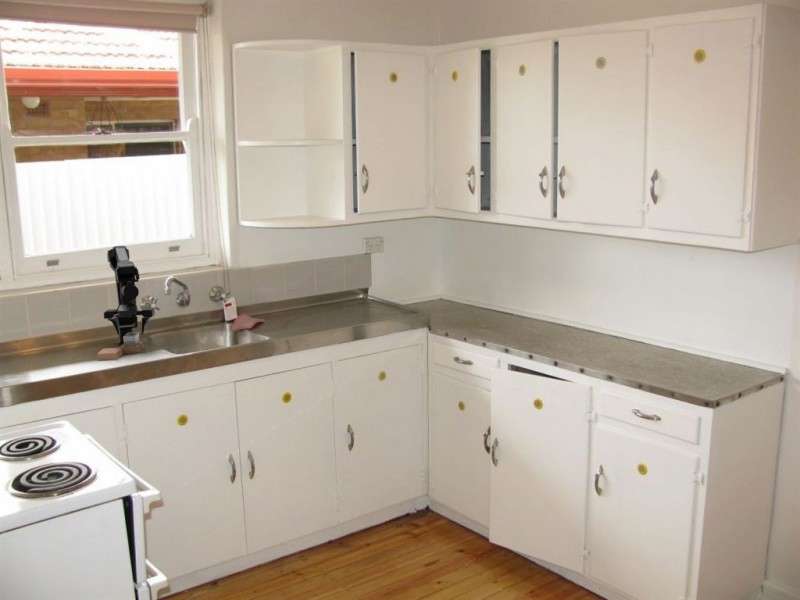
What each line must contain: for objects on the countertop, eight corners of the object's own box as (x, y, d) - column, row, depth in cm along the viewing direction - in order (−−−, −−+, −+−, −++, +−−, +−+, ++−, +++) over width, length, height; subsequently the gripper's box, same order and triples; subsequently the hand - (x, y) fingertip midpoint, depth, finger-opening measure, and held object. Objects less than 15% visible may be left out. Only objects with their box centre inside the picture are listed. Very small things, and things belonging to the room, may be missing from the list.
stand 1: (104, 354, 329) (103, 348, 328) (122, 354, 329) (121, 347, 329) (97, 360, 320) (97, 353, 320) (116, 359, 321) (116, 352, 320)
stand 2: (126, 348, 340) (125, 342, 339) (143, 347, 340) (143, 341, 340) (120, 353, 331) (120, 347, 330) (138, 352, 331) (138, 346, 331)
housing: (128, 342, 338) (127, 330, 338) (139, 342, 339) (138, 330, 338) (124, 346, 331) (123, 334, 331) (135, 345, 332) (134, 334, 331)
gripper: (98, 300, 323) (101, 339, 326) (148, 298, 325) (150, 338, 327) (106, 295, 334) (109, 333, 337) (153, 293, 336) (156, 332, 338)
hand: (131, 334), depth 335 cm, fingers open, 9 cm apart
